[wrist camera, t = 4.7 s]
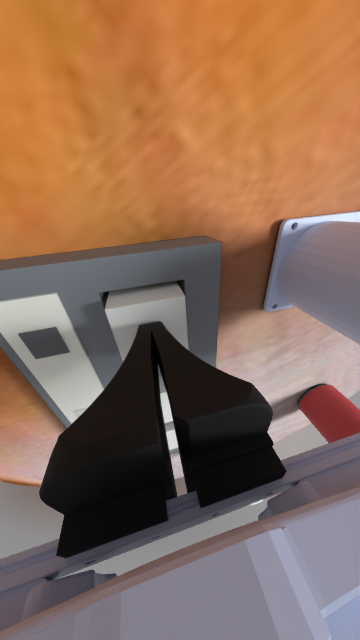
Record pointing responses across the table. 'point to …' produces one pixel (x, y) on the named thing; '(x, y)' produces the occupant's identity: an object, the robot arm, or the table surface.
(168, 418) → the key middle
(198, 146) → the table surface
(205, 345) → the button board
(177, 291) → the key
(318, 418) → the beer can
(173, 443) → the key
